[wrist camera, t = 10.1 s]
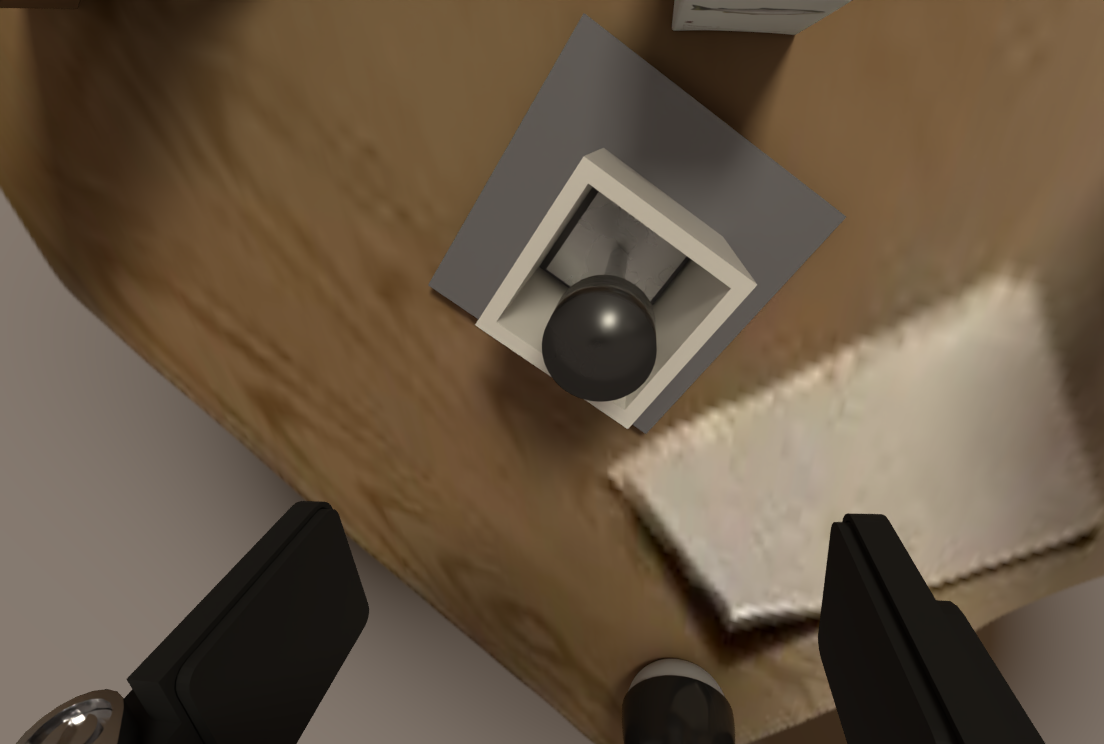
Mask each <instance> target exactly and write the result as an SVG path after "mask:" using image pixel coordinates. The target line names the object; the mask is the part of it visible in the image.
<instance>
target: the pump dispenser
mask: <svg viewBox="0 0 1104 744" xmlns="http://www.w3.org/2000/svg"><path fill="white" fill-rule="evenodd" d="M622 729H623V739H624V744H735V725H734V717H733V712H732V708H731V706H730V704H729V702H728V701H727V699H726V698H725V696H724V694H723V692H722V690H721V688H720V687H719V685H718V684H717V682H716V681H715V680H714V678H713V677H712V676H711V675H710V674H709V673H708V672H706V671H705V670H704V669H702V668H701V667H699V666H698V665H696V664H694V663H691V662H689V661H685V660H681V659H662V660H658V661H655V662H653V663H650V664H649V665H647V666H645V667H644V668H643V669H642V670H641V671H640V672H639V673H638V674H637V675H636V676H635V678H634V679H633V681H632V683H631V685H630V688H629V690H628V692H627V694H626V695H625V697H624V700H623V704H622Z"/></svg>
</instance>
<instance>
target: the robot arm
mask: <svg viewBox="0 0 1104 744" xmlns="http://www.w3.org/2000/svg"><path fill="white" fill-rule="evenodd" d="M368 615H369V606H368V602H367V599H366V596H365V593H364V590H363V587H362V584H361V581H360V578H359V575H358V571H357V568H356V565H355V563H354V560H353V556H352V553H351V550H350V547H349V544H348V541H347V538H346V535H345V532H344V529H343V526H342V523H341V520H340V517H339V514H338V512H337V511H336V510H334V509H332V507H331V505H330V504H329V503H327V502H313V501H300V502H297V503H295V504H294V505H293V506H292V507H291V508H290V509H289V510H288V511H287V512H286V513H285V514H284V515H283V516H282V517H281V518H280V519H279V520H278V521H277V522H276V523H275V525H274V526H273V527H272V528H271V529H270V530H269V531H268V532H267V533H266V534H265V535H264V536H263V537H262V538H261V539H260V540H259V541H258V542H257V543H256V545H254V546H253V548H252V549H251V550H250V551H249V552H248V553H247V554H246V555H245V556H244V557H243V558H242V559H241V560H240V561H239V562H238V563H237V564H236V565H235V566H234V567H233V568H232V570H231V571H230V572H229V573H228V574H227V575H226V576H225V577H224V578H223V579H222V580H221V581H220V582H219V583H218V584H217V585H216V586H215V587H214V588H213V589H212V590H211V592H210V593H209V594H208V595H207V596H206V597H205V598H204V599H203V600H202V601H201V602H200V603H199V604H198V605H197V606H196V607H195V608H194V609H193V610H192V611H191V612H190V613H189V614H188V615H187V617H186V618H185V619H184V620H183V621H182V622H181V623H180V624H179V625H178V626H177V627H176V628H175V629H174V630H173V631H172V632H171V633H170V634H169V635H168V636H167V637H166V639H164V641H163V642H162V643H161V644H160V645H159V646H158V647H157V648H156V649H155V650H154V651H153V652H152V653H151V654H150V655H149V656H148V658H146V659H145V660H144V661H143V662H142V664H141V665H140V666H139V667H138V668H137V669H136V670H135V671H134V672H133V673H132V674H131V675H130V676H129V677H128V679H127V681H128V682H129V684H130V686H131V687H132V691H131V692H130V693H129V694H128V695H127V696H126V697H125V698H123V697H122V696H121V695H120V694H119V693H118V692H117V691H112V690H108V689H105V690H98V691H92V692H89V693H86V694H83V695H80V696H77V697H75V698H73V699H71V700H70V701H67V702H66V703H64V704H62V705H60V706H58V707H57V708H56V709H54V710H52V711H51V712H50V713H48V714H47V715H45V716H44V717H42V718H41V719H40V720H39V721H38V722H36V723H35V724H34V725H33V726H32V727H31V728H30V729H29V730H28V731H26V732H25V733H24V735H23V736H22V737H21V738H20V739H19V741H18V742H17V743H16V744H297V742H298V740H299V738H300V737H301V735H302V733H303V731H304V730H305V728H306V726H307V725H308V723H309V721H310V719H311V718H312V716H313V714H314V713H315V711H316V709H317V707H318V706H319V704H320V702H321V700H322V699H323V697H324V695H325V694H326V692H327V690H328V688H329V687H330V685H331V683H332V682H333V680H334V678H335V676H336V675H337V673H338V671H339V670H340V668H341V666H342V665H343V663H344V661H345V659H346V658H347V656H348V654H349V652H350V651H351V649H352V647H353V646H354V644H355V642H356V640H357V639H358V637H359V635H360V634H361V632H362V630H363V628H364V627H365V625H366V622H367V619H368ZM818 644H819V651H820V656H821V660H822V663H823V666H824V670H825V673H826V676H827V679H828V682H829V686H830V689H831V692H832V695H833V699H834V702H835V705H836V708H837V712H838V714H839V718H840V721H841V724H842V728H843V731H844V734H845V737H846V740H847V743H848V744H1045V743H1044V741H1043V739H1042V738H1041V736H1040V735H1039V733H1038V731H1037V730H1036V728H1035V727H1034V725H1033V723H1032V722H1031V720H1030V719H1029V717H1028V716H1027V714H1026V712H1025V711H1024V709H1023V708H1022V706H1021V704H1020V703H1019V701H1018V700H1017V698H1016V697H1015V695H1014V693H1013V692H1012V690H1011V689H1010V687H1009V685H1008V684H1007V682H1006V681H1005V679H1004V677H1003V676H1002V674H1001V673H1000V671H999V670H998V668H997V666H996V665H995V663H994V662H993V660H992V658H991V657H990V655H989V654H988V652H987V650H986V649H985V647H984V646H983V644H982V642H981V641H980V639H979V638H978V637H977V635H976V633H975V631H974V630H973V628H972V627H971V625H970V623H969V622H968V620H967V619H966V617H965V615H964V614H963V613H962V612H961V610H960V609H959V608H958V606H956V605H955V604H954V603H952V602H951V601H937V600H935V598H934V596H933V594H932V593H931V591H930V589H929V588H928V586H927V584H926V583H925V581H924V579H923V578H922V576H921V574H920V572H919V571H918V569H917V567H916V566H915V564H914V562H913V561H912V559H911V557H910V555H909V554H908V552H907V550H906V549H905V547H904V545H903V544H902V542H901V540H900V539H899V537H898V535H897V533H896V532H895V530H894V528H893V527H892V525H891V523H890V522H889V520H888V519H887V517H886V516H884V515H882V514H845V516H844V518H843V522H834V523H833V524H832V527H831V533H830V541H829V550H828V558H827V566H826V574H825V583H824V591H823V599H822V607H821V616H820V624H819V632H818Z"/></svg>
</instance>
